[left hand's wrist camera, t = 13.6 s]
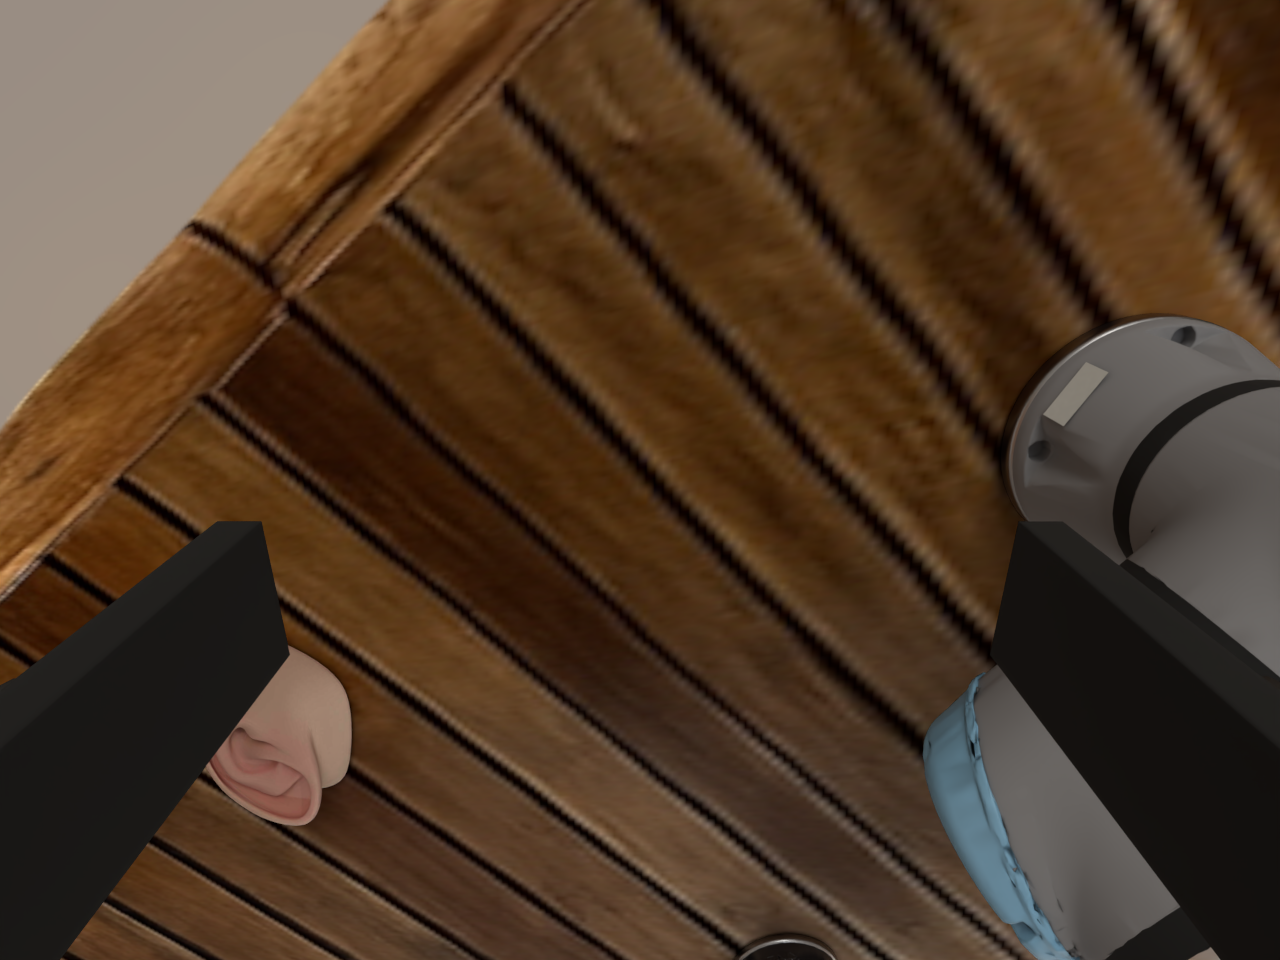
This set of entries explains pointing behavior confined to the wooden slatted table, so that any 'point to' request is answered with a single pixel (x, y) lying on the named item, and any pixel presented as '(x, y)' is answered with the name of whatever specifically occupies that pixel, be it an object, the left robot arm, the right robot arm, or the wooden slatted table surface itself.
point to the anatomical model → (288, 744)
